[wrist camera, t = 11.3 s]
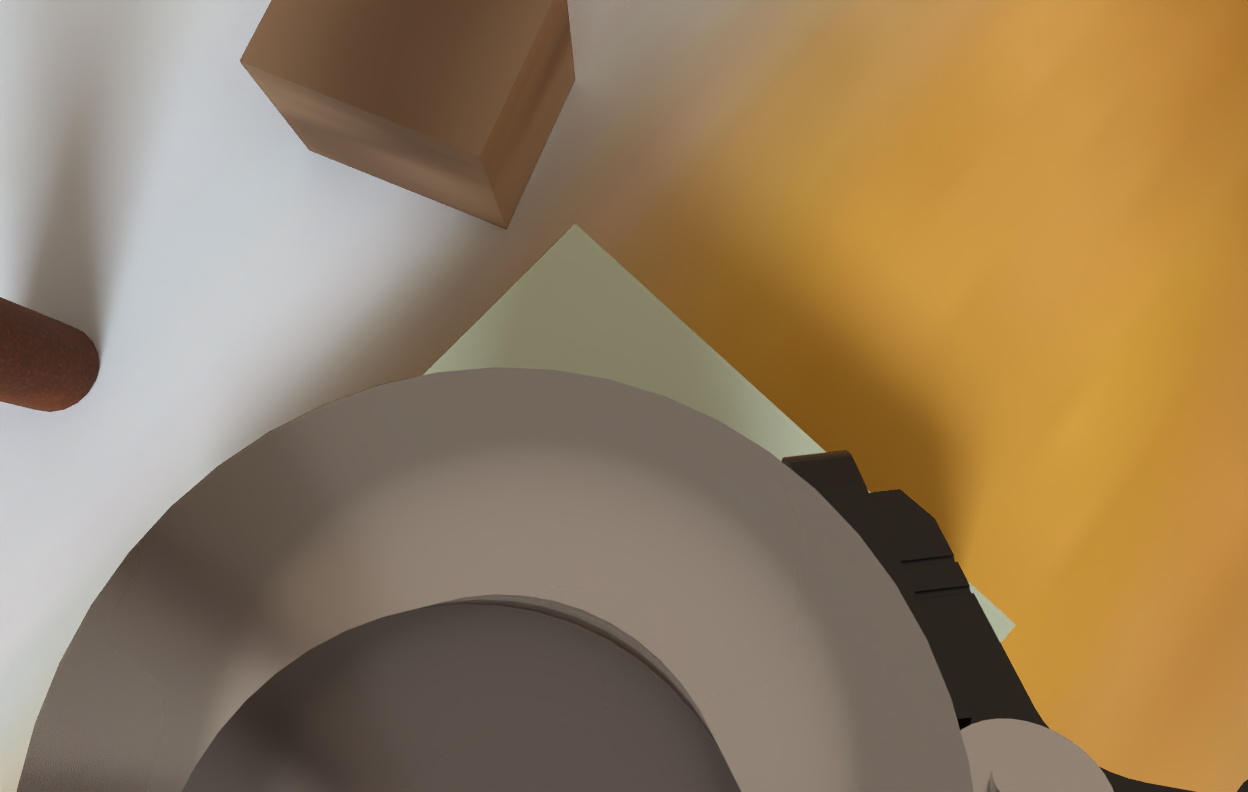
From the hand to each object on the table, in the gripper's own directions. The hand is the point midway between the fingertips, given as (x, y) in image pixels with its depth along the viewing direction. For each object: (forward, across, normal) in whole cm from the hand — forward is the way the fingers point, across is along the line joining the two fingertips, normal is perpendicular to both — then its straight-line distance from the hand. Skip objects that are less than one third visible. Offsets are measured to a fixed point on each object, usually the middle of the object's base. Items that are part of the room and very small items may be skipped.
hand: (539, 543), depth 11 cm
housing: (+2, 0, +5) cm, 5 cm away
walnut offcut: (+14, +2, -1) cm, 14 cm away
